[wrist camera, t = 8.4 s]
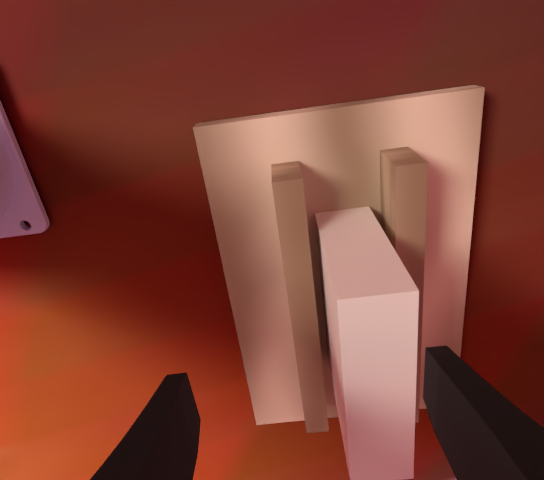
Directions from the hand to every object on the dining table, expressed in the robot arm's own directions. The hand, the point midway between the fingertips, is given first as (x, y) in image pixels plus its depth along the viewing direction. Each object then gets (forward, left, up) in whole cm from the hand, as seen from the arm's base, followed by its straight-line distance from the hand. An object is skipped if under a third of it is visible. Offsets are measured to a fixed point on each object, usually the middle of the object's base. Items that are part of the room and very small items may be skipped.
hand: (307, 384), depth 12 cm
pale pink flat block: (+2, -2, -8) cm, 9 cm away
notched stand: (+3, -2, -9) cm, 10 cm away
